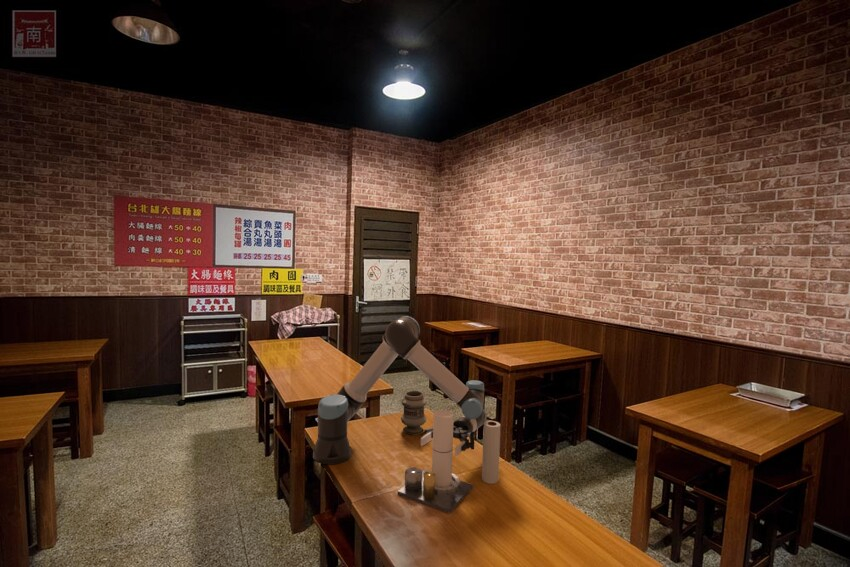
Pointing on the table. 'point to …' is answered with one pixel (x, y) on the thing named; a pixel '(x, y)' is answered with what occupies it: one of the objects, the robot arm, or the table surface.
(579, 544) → the table surface
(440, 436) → the cylindrical container
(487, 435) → the paper towel roll
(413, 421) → the apothecary jar
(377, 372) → the robot arm
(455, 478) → the carrier
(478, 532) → the table surface
